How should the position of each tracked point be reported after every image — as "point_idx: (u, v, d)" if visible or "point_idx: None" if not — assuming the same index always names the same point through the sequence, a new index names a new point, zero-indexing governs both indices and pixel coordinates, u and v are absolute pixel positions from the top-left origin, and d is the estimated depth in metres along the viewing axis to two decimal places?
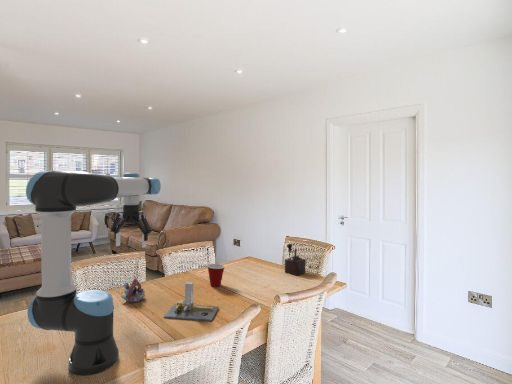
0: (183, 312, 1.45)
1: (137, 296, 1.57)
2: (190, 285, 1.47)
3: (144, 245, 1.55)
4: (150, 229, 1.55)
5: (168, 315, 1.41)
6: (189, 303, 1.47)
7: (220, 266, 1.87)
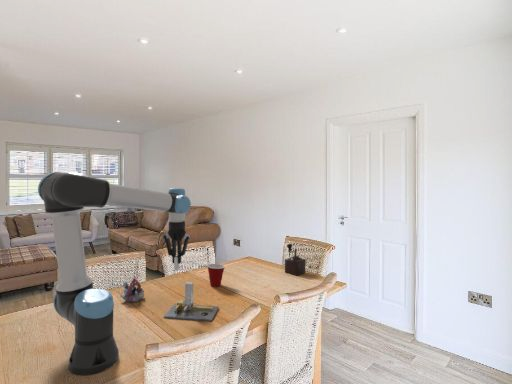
0: (183, 312, 1.45)
1: (136, 296, 1.57)
2: (190, 285, 1.47)
3: (177, 268, 1.49)
4: None
5: (168, 315, 1.41)
6: (189, 303, 1.47)
7: (220, 266, 1.87)
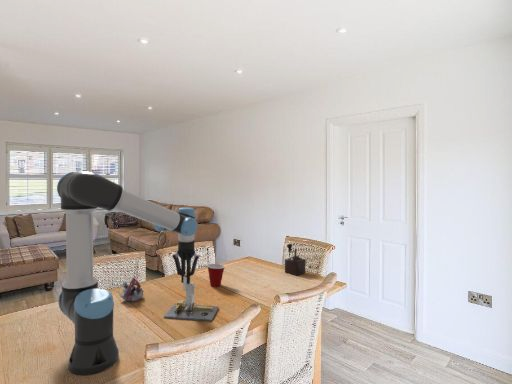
0: (183, 312, 1.45)
1: (135, 295, 1.57)
2: (191, 285, 1.47)
3: None
4: (194, 271, 1.49)
5: (168, 315, 1.41)
6: (190, 303, 1.47)
7: (220, 266, 1.87)
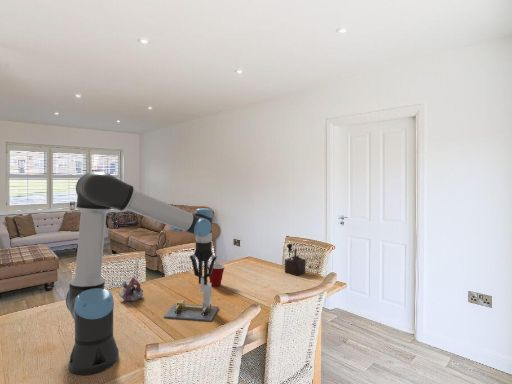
0: (183, 312, 1.45)
1: (134, 295, 1.58)
2: (208, 286, 1.46)
3: None
4: (211, 272, 1.48)
5: (168, 315, 1.41)
6: (208, 304, 1.46)
7: (220, 266, 1.87)
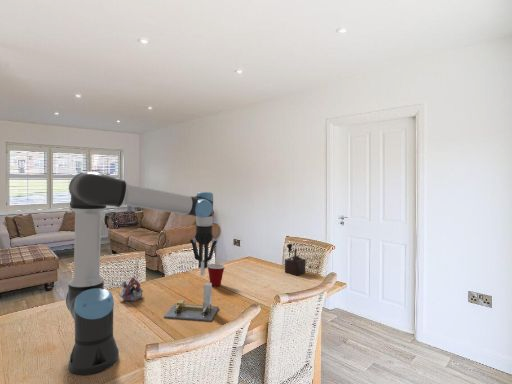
0: (183, 312, 1.45)
1: (134, 295, 1.58)
2: (209, 286, 1.46)
3: (204, 272, 1.47)
4: (211, 256, 1.47)
5: (168, 315, 1.41)
6: (208, 304, 1.46)
7: (220, 266, 1.87)
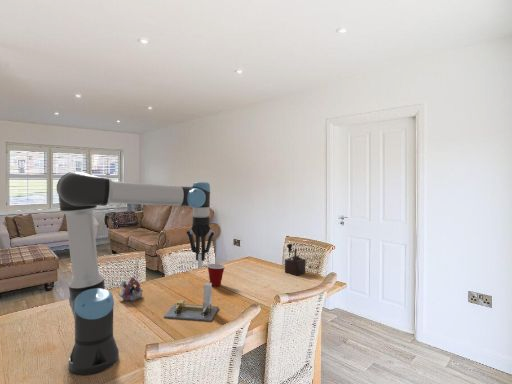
0: (183, 312, 1.45)
1: (133, 295, 1.58)
2: (209, 286, 1.46)
3: (201, 265, 1.42)
4: None
5: (168, 315, 1.41)
6: (208, 304, 1.46)
7: (220, 266, 1.87)
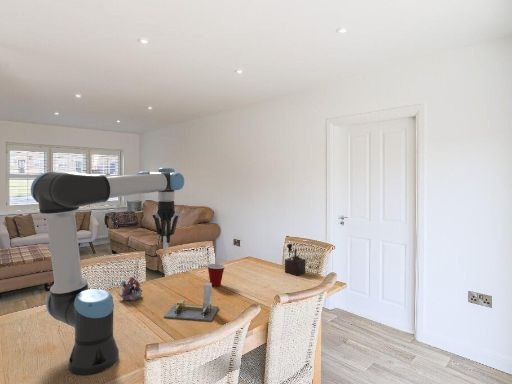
0: (183, 312, 1.45)
1: (133, 295, 1.58)
2: (209, 286, 1.46)
3: (166, 247, 1.50)
4: (174, 231, 1.50)
5: (168, 315, 1.41)
6: (208, 304, 1.46)
7: (220, 266, 1.87)
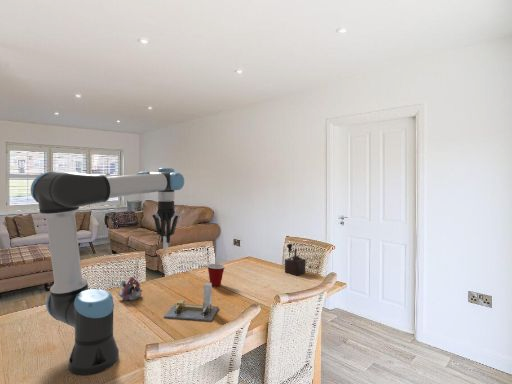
0: (183, 312, 1.45)
1: (132, 295, 1.58)
2: (209, 286, 1.46)
3: (166, 247, 1.50)
4: (174, 231, 1.50)
5: (168, 315, 1.41)
6: (208, 304, 1.46)
7: (220, 266, 1.87)
